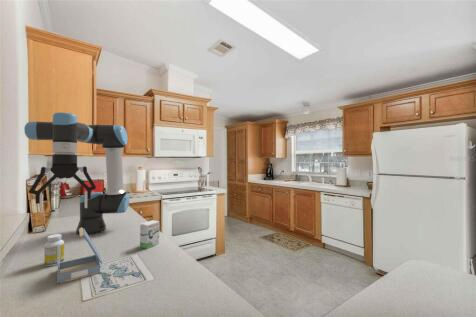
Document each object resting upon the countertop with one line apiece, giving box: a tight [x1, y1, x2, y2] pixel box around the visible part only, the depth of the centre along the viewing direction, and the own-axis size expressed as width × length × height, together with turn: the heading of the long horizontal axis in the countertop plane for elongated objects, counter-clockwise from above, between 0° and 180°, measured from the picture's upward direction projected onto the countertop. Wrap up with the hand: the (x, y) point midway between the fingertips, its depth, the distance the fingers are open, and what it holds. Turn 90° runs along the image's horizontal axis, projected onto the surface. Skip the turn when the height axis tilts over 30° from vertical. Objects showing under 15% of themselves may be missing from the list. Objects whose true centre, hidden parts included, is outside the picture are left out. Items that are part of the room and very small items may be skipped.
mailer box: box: [56, 254, 101, 285], centre depth 88 cm, size 12×13×3 cm
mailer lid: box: [79, 227, 103, 265], centre depth 90 cm, size 12×14×2 cm
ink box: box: [139, 219, 160, 249], centre depth 115 cm, size 9×5×12 cm, turn 155°
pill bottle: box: [44, 233, 65, 267], centre depth 95 cm, size 6×6×12 cm
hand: (64, 209), depth 85 cm, fingers open, 13 cm apart
